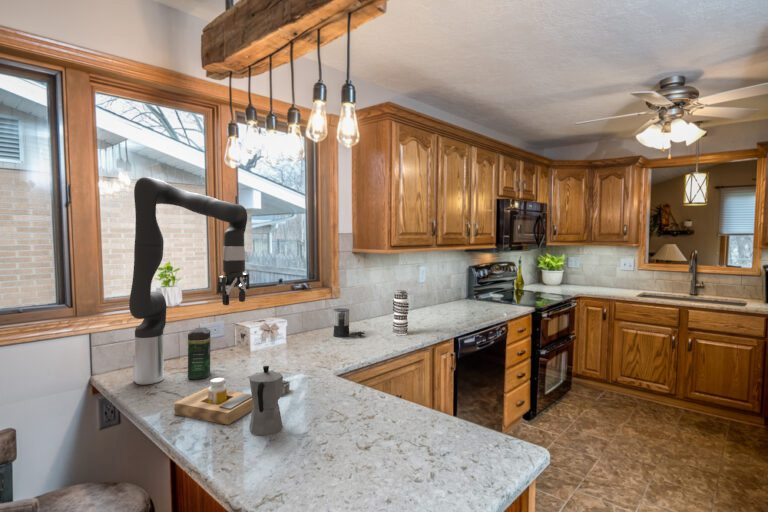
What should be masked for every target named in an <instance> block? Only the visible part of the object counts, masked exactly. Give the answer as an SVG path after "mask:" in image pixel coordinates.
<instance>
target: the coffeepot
mask: <svg viewBox="0 0 768 512" xmlns="http://www.w3.org/2000/svg"><path fill="white" fill-rule="evenodd" d="M248 380H249V386H250V392H251V393H250V394H252V400H253V402H254V406H253V409H252V410H251V415H250V421H249V427H248V429H249V432H250V433H251V434H252V435H255V436H257V437H258V436H260V437H263V436H264V437H265V436H267V437H268V436H271V435H273V434H276V433H279V431H281V430H282V428H283V427H284V426H283V421H282V417H281V415H282V414H281V410H280V409H281V407H280V406H279V400H280V398H281V395H280V393H281V386H282V380H284V376H283V374H282V373H281V372H279V371H274V370H273V369H271V370H270V366H269V365H264V366H263V371H260V372H256V373H253V374H252V375H250V376H248Z"/></svg>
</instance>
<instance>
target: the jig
mask: <svg viewBox="0 0 768 512" xmlns="http://www.w3.org/2000/svg"><path fill="white" fill-rule="evenodd" d="M209 387H210V386H207V387H206V388H204V389H201V390H199V391H197V392H195V393H192V394H190V395H189V396H186V397H184V398H182V399H180V400H177V401H175V402H174V403H173V406H174V407H173V408H174V415H176V416H181V417H187V418H192V419H196V420H202V421H207V422H212V423H218V424H222V425H230V424H231V423H233V422H235V421H236V420H238V419H240V418H241V417H243V416H245V415H247V414H248V413H250V412H252V409H253V406H254V402H253V400H252V394H251V393H245V392H239V391H234V390H228V389H227V401H225V402H223V403H221V404H219V405H216V404H210V403H208V389H209Z"/></svg>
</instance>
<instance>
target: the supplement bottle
mask: <svg viewBox="0 0 768 512" xmlns="http://www.w3.org/2000/svg"><path fill="white" fill-rule="evenodd" d="M208 387H209V389H208V403H210V404H216V405H219V404H221V403H223V402H225V401H227V390H228V388H227V386H226V385H225V378H223V377H214V378H212V379H210V386H208Z"/></svg>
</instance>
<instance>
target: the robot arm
mask: <svg viewBox="0 0 768 512" xmlns="http://www.w3.org/2000/svg"><path fill="white" fill-rule="evenodd" d="M133 190H134V191H133V193H134V194H133V196H134V197H133V198H134V208H135V209H134V210H135V211H134V213H135V225H134V226H135V229H134V230H135V235H134V246H133V247H134V250H133V252H134V253H133V259H134V260H133V273H132V282H131V288H130V295H129V302H128V304H129V309H128V310H129V312H130V314H131V316H132V317H133V318H135V319H136V320H142V322H141V323H140V324H139V325H138V326H137V327H136V328H135V330H134V356H133V357H132V360H133V361H132V362H133V363H132V365H133V369H132V370H133V374H132V375H133V382H135V384H137V385H152V384H156V383H159V382H162V381H163V380H164V377H165V375H164V374H165V372H164V370H165V369H164V367H165V366H164V365H165V363H164V329H165V327H166V323H167V301H166V298H165V296H164V294H163V293H161V292H159V291H156V290H155V291H154V290H153V291H152V282H153V278H154V276H155V275H156V274H157V273H156V272H157V271H158V269H159V267H160V265H161V264H162V261H163V257H164V245H165V243H164V242H165V241H164V236H163V234H162V231H161V228H160V226H159V223H158V220H157V212H156V211H157V205H172V206H175V207H176V206H177V207H180V208H183V209H186V210H189V211H190V212H193V213H196V214H199V215H203V216H206V217H208V218H209V217H210V218H214V219H216V220H220V221H222V222H225V223H228V225H227V226H228V227H227V229H226V230H225V231H224V232H223V250H222V251H223V252H222V271H223V272H224V276H223V275H219V276H218V277H217V293H218V294H220V295H221V296H222V299H221V302H222V305H223V306H229V305H230V292H231V290H233V288H237V290H238V301H239V303H240V302H242V303H244V302H245V301H246V292H247V290H250V274H249V273H244V272H246V271H245V270H246V250H245V232H246V228H247V224H248V213H247V209H246V208H245V207H244V205H242V204H237V203H233V202H228V201H225V200H220V199H217V198H215V197H212V196H209V195H205V194H201V193H196V192H192V191H187V190H184V189H182V188H178V187H176V186H174V185H172V184H170V183H167V182H166V181H164V180H162V179H159V178H153V177H150V176H142V177H140V178H139V179H138V180H136V183H135V184H134V189H133Z"/></svg>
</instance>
